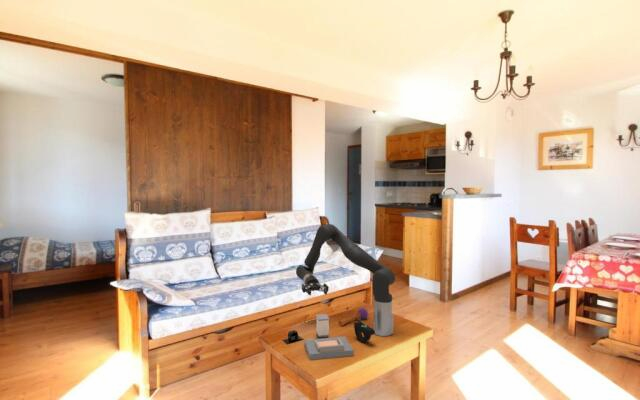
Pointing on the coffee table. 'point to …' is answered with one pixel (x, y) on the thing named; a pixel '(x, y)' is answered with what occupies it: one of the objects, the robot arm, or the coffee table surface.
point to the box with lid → (322, 325)
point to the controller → (363, 331)
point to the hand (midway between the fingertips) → (318, 293)
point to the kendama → (355, 316)
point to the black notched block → (292, 337)
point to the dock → (328, 348)
